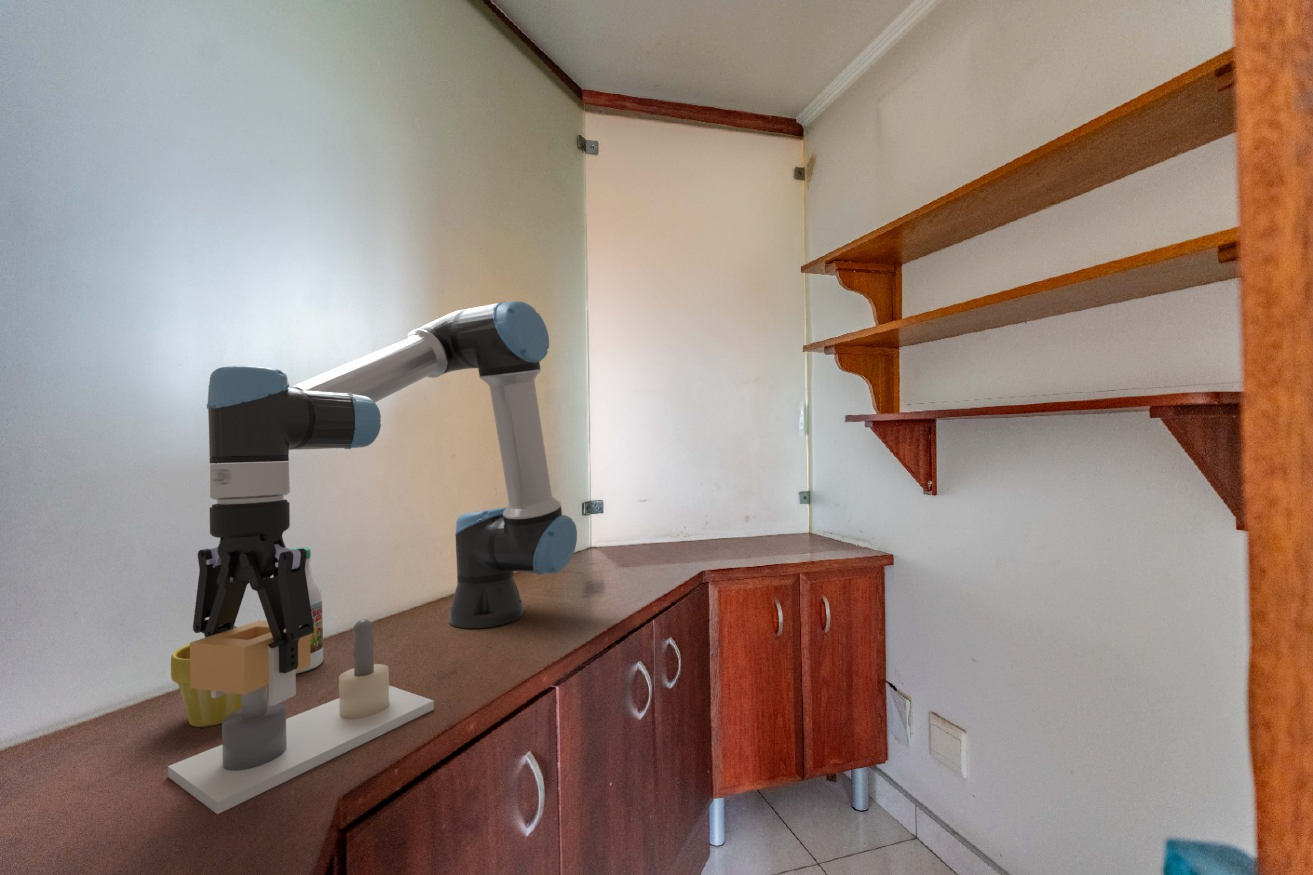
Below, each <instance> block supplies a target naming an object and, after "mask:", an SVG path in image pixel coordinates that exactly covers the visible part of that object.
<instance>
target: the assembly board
mask: <svg viewBox="0 0 1313 875" xmlns="http://www.w3.org/2000/svg"><path fill="white" fill-rule="evenodd" d="M352 632H353V633H352V634H353V635H352V637H353V639H352V640H353V668H349V669H347V670H345V671H344V672H343V673H341V674H339V676H338V695H339V696H338V698H336V699H332V700H331V701H328V702H325V703H322V704H321V705H318V706H316V707H313V708H310V709H309V710H305V711H302V712H300V713H298V714H296V715H292V716H291V717H288V718H287V706H286V704H285V703H283V702H280V703H278V704H276V705H274V706H273V705H269V701H268V685H266V686H263V687H261V688H259V689H257V690H254V691H252V692H250V693H248V694H245V695H243V694H241V697H242V709H239V710H237V711H235V712H233V713H231V714H229V715H228V716H226V717H225V718H224V719H223V720H222V723H221V740H222V741H221V744H220V745H218V746H215V747H213V748H210V749H207V750H205V751H203V752H199V753H197V754H195V755H192V756H191V757H187V758H185V759H182V760H180V761H177V762H175V763H172V764H170V765H168V766H167V778H168V779H170V780H172V782H174V783H175V784H177V785H178V786H179V787H180V788H182V789H183V790H184V791H186V792H187V793H189V794H190V795H191V796H192V797H194V798H195V799H197V801H199V802H201V804H203V805H205V806H206V807H207V808H208V809H209V810H211V811H212V812H214V813H215V814H217V815H220V814H221V813H223V812H225V811H228V810H230V809H231V808H234V807H235V806H239V805H240V804H242V803H244V802H246V801H249V800H250V799H252V798H254V797H256V796H258V795H261V794H262V793H265V792H267V791H269V790H270V789H273V788H275V787H277V786H279V785H281V784H283V783H285V782H287V781H290V780H291V779H294V778H296V777H298V776H299V775H302V774H304V773H306V772H307V771H310V770H312V769H314V768H315V767H316V768H317V767H319V766H320V765H322V764H325V763H326V762H328V761H330V760H332V759H335V758H336V757H339V756H341V755H342V754H345V753H347V752H348V751H351V750H352V749H355V748H357V747H359V746H362V745H363V744H366V743H368V742H369V741H372V740H374V739H376V738H379V736H382V735H384V734H386V733H388V732H390V731H392V730H395V729H396V728H398V727H401V726H403V725H404V724H407V723H408V722H411V721H413V720H415V719H417V718H419V717H421V716H423V715H425V714H427V713H430V712H431V711H433V710H435V709H434V708H435V701H434V700H433V699H431V698H427V697H424V696H421V695H419V694H415V693H412V692H409V691H406V690H403V689H401V688H397V687H396V686H393V685H390V671H389V669H390V668H389V666H388V665H386V664H382V663H375V657H374V656H375V655H374V654H375V651H374V649H375V648H374V646H375V645H374V624H373V622H372V621H371V620H370V619H365V618H364V619H360V620H358V621H356V623H355V624H354V626H353V627H352Z"/></svg>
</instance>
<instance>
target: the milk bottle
mask: <svg viewBox="0 0 1313 875" xmlns="http://www.w3.org/2000/svg"><path fill="white" fill-rule="evenodd" d="M301 548H303V549H305V550H306V552H307V555H306V563H305V573H306V580H307V586H308V593H309V599H310V606H311V613H312V619H313V626H314V631H313V633H312V634H310V666H309V667H307V668H304V669H302V670H300V671H297V672H296V674H297V675H298V674H300V673H305V672H307V671H310V670H313V669H316V668H317V667H319V666H320V665H321V664H322V662H323V660H324V630H323V629H324V628H323V627H324V625H323V624H324V623H323V622H324V621H323V601H322V593H321V589H320V585H319V584H318V582H317V580H316V578H315V577H314V575H313V573H312V570H311V567H310V561H312V560H311V555H312V554H311V548H310V547H295V548H294V547H293V548H291V549H292V550H296V549H301Z"/></svg>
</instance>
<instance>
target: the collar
mask: <svg viewBox="0 0 1313 875" xmlns="http://www.w3.org/2000/svg"><path fill="white" fill-rule="evenodd" d="M236 627H237V626H236ZM299 627H300V626H299ZM284 632H286V629H284ZM273 642H274V640H273V637H272V634H271V631H270V628H269V625H268V622H267V620H257V621H254V622H250V623H247V624H244V625H240V626H238V627H237V628H234V629H231V630H228V631H225V632H222V633H218V634H215V635H212V636H209V637H206V638H205V637H204V638H200V639H196V640H193V641H191V642H189V644H190V688H195V689H203V690H211V691H219V692H227V693H235V694H243V695H245V694H248V693H250V692H252V691H254V690H257V689H259V688H261V687H263V686H266V685H267V686H269V675H268V645H269V644H271V643H273ZM309 666H310V634H309V635H307V636H304V637H302V638H300V639H299V641H298V667H297V669H295V670H296V672H297V671H300V670H302V669H304V668H307V667H309Z"/></svg>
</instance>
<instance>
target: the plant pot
mask: <svg viewBox="0 0 1313 875" xmlns="http://www.w3.org/2000/svg"><path fill="white" fill-rule="evenodd" d="M170 677H171V680H172V681H173V682H174V683H175V684H176V683H177V684H178V688H179V691H180V695H181V699H182V703H183V705H184V709H185V714H186V716H187V717H186V718H187V721H188V723H189V725H190V726H192V727H197V728H203V727H211V726H216V725H220V724H221V725H222V720H223V719H224V718H225V717H226V716H228V715H229V714H231V713H233V712H235V711H237V710H239V709H242V697H241V694H235V693H227V694H224V695H222V696H220V697H217V698H211V690H203V689H195V688H190V643H189V644H185V645H183V646H182V647H180V648H178V649H176V650H175V651H174V652H172V654H171V657H170Z"/></svg>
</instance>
